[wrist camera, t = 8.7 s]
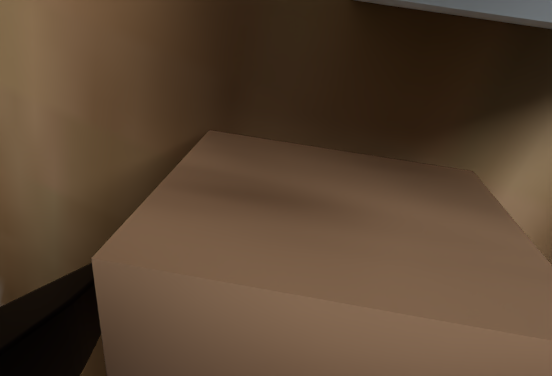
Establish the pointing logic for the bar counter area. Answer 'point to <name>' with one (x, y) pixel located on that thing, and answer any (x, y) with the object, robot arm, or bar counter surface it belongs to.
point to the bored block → (485, 9)
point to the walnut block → (320, 270)
